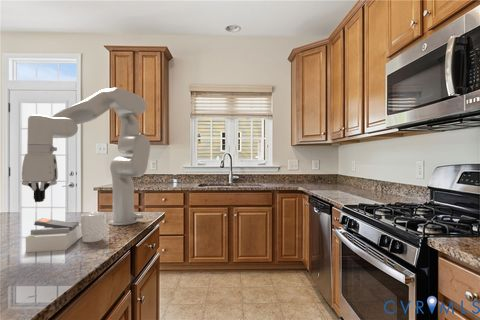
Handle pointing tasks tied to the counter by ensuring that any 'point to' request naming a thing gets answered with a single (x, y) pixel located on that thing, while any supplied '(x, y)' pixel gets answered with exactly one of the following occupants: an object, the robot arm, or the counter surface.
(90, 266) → the counter surface
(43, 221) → the breaker rocker
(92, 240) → the white cup
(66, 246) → the breaker panel
